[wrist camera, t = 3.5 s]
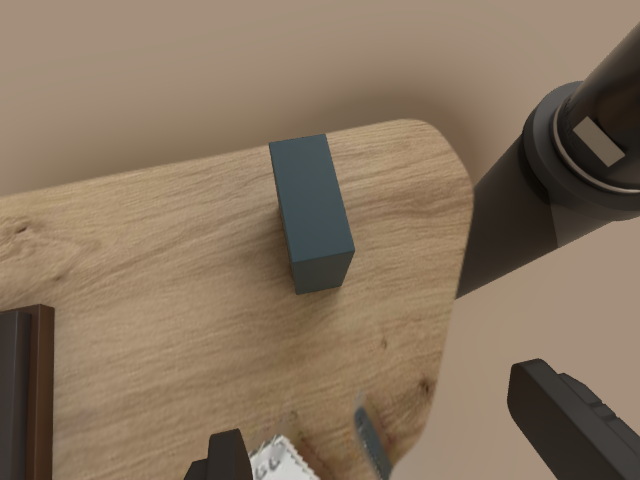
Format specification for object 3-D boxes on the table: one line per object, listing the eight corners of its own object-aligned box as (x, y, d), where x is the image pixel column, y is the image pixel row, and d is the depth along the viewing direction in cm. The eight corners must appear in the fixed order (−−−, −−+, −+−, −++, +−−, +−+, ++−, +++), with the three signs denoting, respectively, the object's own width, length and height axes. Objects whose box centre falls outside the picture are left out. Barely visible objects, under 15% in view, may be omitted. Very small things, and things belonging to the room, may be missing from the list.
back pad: (320, 196, 29) (325, 133, 21) (341, 286, 26) (355, 250, 19) (278, 204, 28) (268, 142, 21) (296, 295, 26) (292, 263, 18)
